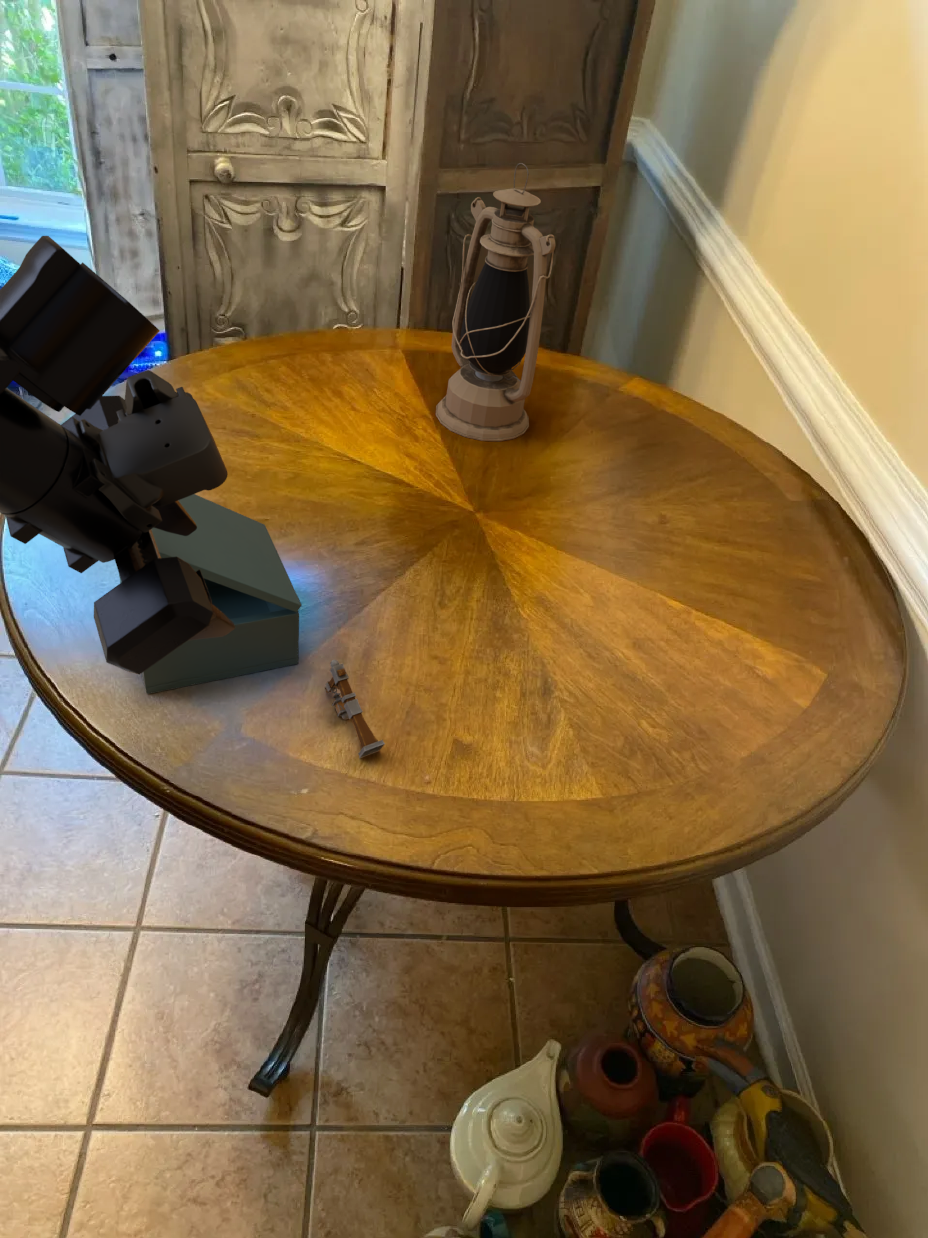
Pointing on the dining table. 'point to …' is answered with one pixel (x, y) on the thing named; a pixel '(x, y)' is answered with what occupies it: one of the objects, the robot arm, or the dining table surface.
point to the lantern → (497, 321)
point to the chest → (231, 644)
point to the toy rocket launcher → (351, 709)
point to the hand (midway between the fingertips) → (209, 578)
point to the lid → (230, 552)
